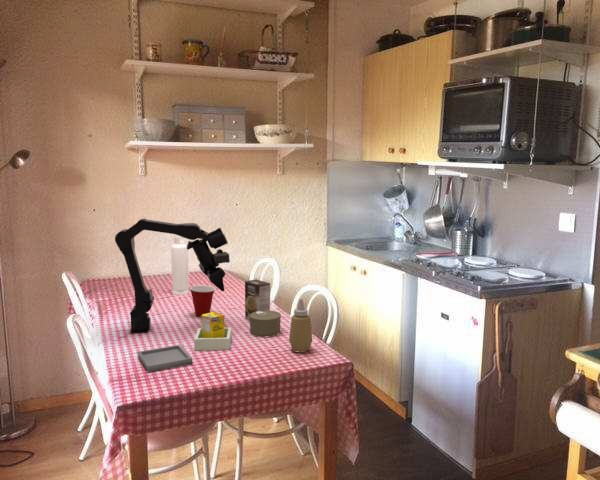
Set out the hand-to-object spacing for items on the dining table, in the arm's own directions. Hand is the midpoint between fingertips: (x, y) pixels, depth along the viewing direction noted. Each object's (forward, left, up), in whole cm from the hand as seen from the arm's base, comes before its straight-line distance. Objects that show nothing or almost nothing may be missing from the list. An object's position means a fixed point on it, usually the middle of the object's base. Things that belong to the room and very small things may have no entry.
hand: (220, 287), depth 205 cm
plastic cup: (-8, +13, -15) cm, 22 cm away
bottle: (-23, +51, -15) cm, 59 cm away
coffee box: (+15, +4, -15) cm, 22 cm away
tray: (-16, -37, -15) cm, 43 cm away
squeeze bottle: (+30, -31, -15) cm, 45 cm away
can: (+18, -11, -15) cm, 26 cm away
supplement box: (-1, -23, -15) cm, 27 cm away
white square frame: (-1, -23, -15) cm, 27 cm away
